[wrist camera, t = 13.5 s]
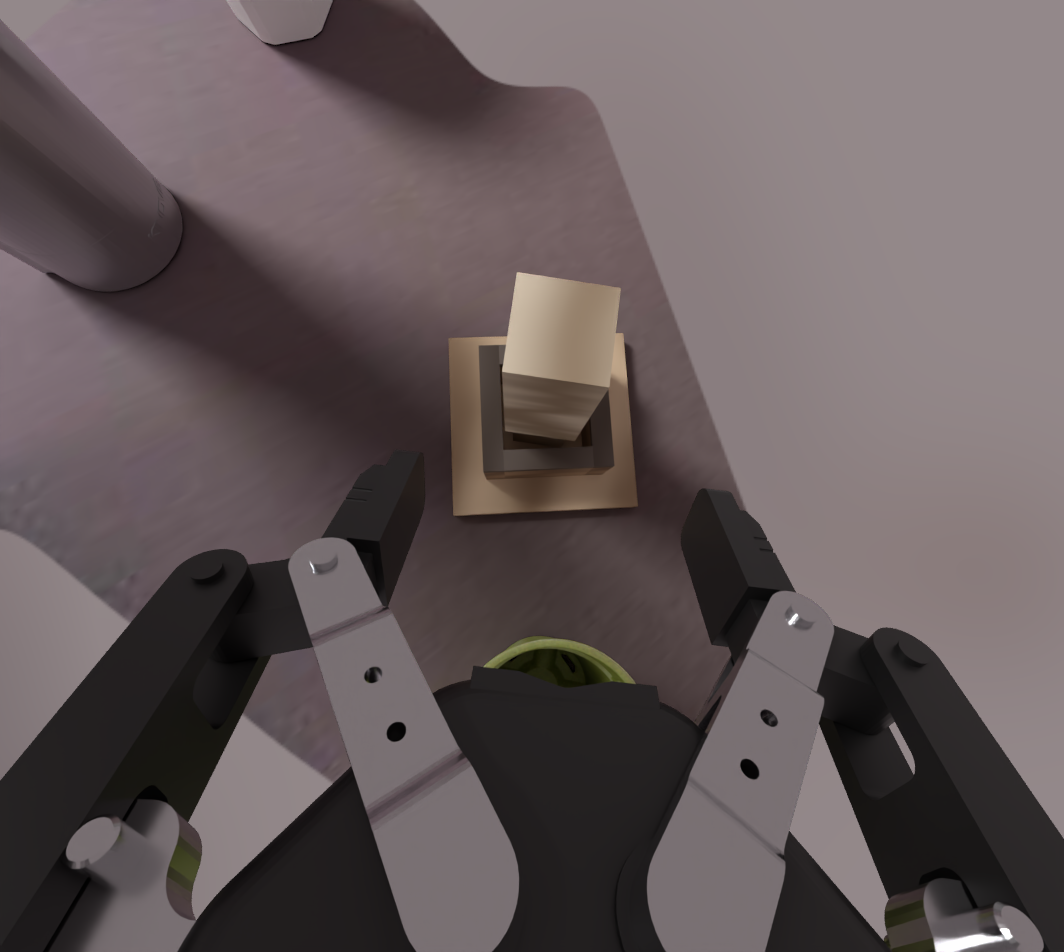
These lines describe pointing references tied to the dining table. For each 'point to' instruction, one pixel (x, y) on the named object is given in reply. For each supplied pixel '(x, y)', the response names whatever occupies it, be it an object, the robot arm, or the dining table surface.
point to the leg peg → (557, 357)
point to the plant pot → (560, 662)
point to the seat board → (531, 469)
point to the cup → (282, 18)
